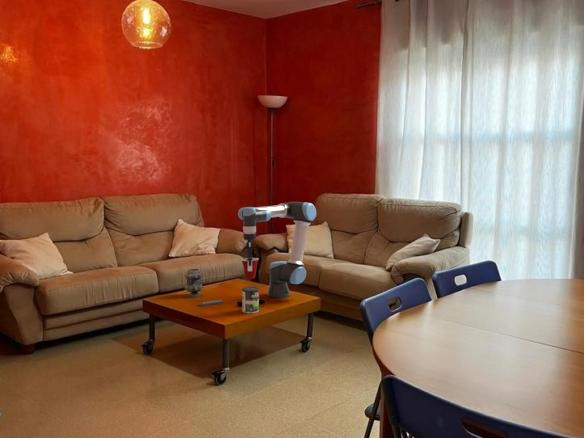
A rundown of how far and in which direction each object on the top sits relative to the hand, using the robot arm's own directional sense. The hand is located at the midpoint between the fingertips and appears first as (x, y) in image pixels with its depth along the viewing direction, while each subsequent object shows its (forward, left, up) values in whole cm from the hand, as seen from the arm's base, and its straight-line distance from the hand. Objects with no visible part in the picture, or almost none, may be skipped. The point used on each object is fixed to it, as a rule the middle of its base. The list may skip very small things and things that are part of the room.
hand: (250, 269), depth 333 cm
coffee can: (0, 0, -26) cm, 26 cm away
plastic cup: (0, 0, -6) cm, 6 cm away
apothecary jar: (+38, -40, -26) cm, 61 cm away
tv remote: (+25, -18, -27) cm, 41 cm away
